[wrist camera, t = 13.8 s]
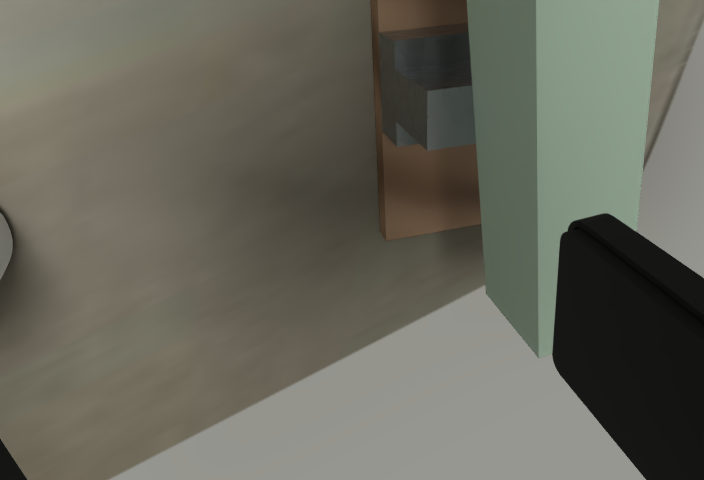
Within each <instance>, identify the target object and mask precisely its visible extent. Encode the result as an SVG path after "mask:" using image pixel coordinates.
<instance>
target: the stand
mask: <svg viewBox="0 0 704 480" xmlns="http://www.w3.org/2000/svg"><path fill="white" fill-rule="evenodd" d="M371 22H372V46H373V70H374V94H375V118H376V142H377V166H378V190H379V214H380V232H381V233H382V235H383V237H384V238H385V240H386V241H390V240H395V239H401V238H406V237H412V236H418V235H423V234H429V233H434V232H440V231H446V230H451V229H457V228H462V227H468V226H474V225H479V224H481V210H480V195H479V180H478V164H477V149H476V134H475V119H474V104H473V89H472V74H471V59H470V43H469V28H468V13H467V0H371Z"/></svg>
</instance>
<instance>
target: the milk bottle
mask: <svg viewBox="0 0 704 480" xmlns="http://www.w3.org/2000/svg"><path fill="white" fill-rule="evenodd" d="M12 250H13V240H12V235H11V231H10V229H9V226H8V224H7V222H6V220H5V218H4V216H3V215H2V214H1V212H0V279H1V278H2V276H3V274H4V272H5V270H6V268H7V266H8V264H9V261H10V259H11V255H12Z"/></svg>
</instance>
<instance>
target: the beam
mask: <svg viewBox="0 0 704 480" xmlns="http://www.w3.org/2000/svg"><path fill="white" fill-rule="evenodd" d="M658 8H659V0H467V13H468V28H469V43H470V59H471V74H472V89H473V104H474V119H475V134H476V149H477V164H478V180H479V195H480V210H481V225H482V240H483V255H484V270H485V285H486V294H487V295H488V296H489V298H490V299H491V300H492V301H493V303H494V304H495V305H496V306H497V308H498V309H499V310H500V311H501V313H502V314H503V315H504V316H505V317H506V319H507V320H508V321H509V322H510V324H511V325H512V326H513V327H514V328H515V330H516V331H517V332H518V333H519V335H520V336H521V337H522V338H523V340H524V341H525V342H526V343H527V344H528V346H529V347H530V348H531V349H532V350H533V352H534V353H535V354H536V356H537V357H538V358H541V357H544V356H547V355H550V354H552V350H553V335H554V321H555V306H556V291H557V277H558V262H559V247H560V238H561V236H562V234H563V233H564V232H567V231H568V227H569V225H570V223H571V222H573V221H575V220H579V219H583V218H587V217H591V216H595V215H599V214H603V213H608V214H610V215H612V216H614V217H616V218H617V219H618V220H620V221H621V222H623V223H624V224H626V225H627V226H629V227H630V228H631V229H633V230H634V231H636V232H637V224H638V213H639V203H640V192H641V182H642V172H643V162H644V152H645V141H646V131H647V121H648V110H649V100H650V90H651V80H652V69H653V59H654V49H655V38H656V28H657V18H658Z"/></svg>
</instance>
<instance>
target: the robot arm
mask: <svg viewBox="0 0 704 480" xmlns="http://www.w3.org/2000/svg"><path fill="white" fill-rule="evenodd" d="M552 355H553V361H554V364H555V367H556V369H557V371H558V372H559V374H560V375H561V376H562V378H563V379H564V380H565V381H566V382H567V384H568V385H569V386H570V387H571V389H572V390H573V391H574V392H575V393H576V395H577V396H578V397H579V398H580V400H581V401H582V402H583V403H584V404H585V405H586V406H587V408H588V409H589V410H590V412H591V413H592V414H593V415H594V417H595V418H596V419H597V420H598V421H599V423H600V424H601V425H602V426H603V428H604V429H605V430H606V431H607V432H608V434H609V435H610V436H611V437H612V438H613V440H614V441H615V442H616V443H617V445H618V446H619V447H620V448H621V449H622V451H623V452H624V453H625V454H626V456H627V457H628V458H629V459H630V460H631V462H632V463H633V464H634V465H635V467H636V468H637V469H638V470H639V471H640V473H641V474H642V475H643V476H644V477H645V479H646V480H704V278H703V277H701V276H700V275H698V274H697V273H695V272H694V271H692V270H691V269H689V268H688V267H687V266H685V265H683V264H682V263H681V262H679V261H678V260H676V259H675V258H674V257H672V256H671V255H669V254H668V253H666V252H665V251H663V250H662V249H661V248H659V247H658V246H656V245H655V244H653V243H652V242H650V241H649V240H647V239H646V238H645V237H643V236H642V235H640V234H639V233H637V232H636V231H634V230H633V229H631V228H630V227H629V226H627V225H626V224H624V223H623V222H621V221H620V220H618V219H617V218H616V217H614V216H612V215H610V214H608V213H603V214H599V215H595V216H591V217H587V218H583V219H579V220H575V221H573V222H571V223H570V225H569V227H568V231H567V232H564V233H563V234H562V236H561V238H560V247H559V262H558V277H557V291H556V306H555V321H554V335H553V350H552ZM0 480H27V479H26V477H25V476H24V474H23V473H22V471H21V470H20V468H19V467H18V465H17V464H16V462H15V461H14V459H13V458H12V456H11V455H10V453H9V452H8V450H7V448H6V447H5V445H4V444H3V442H2V441H1V439H0Z"/></svg>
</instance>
